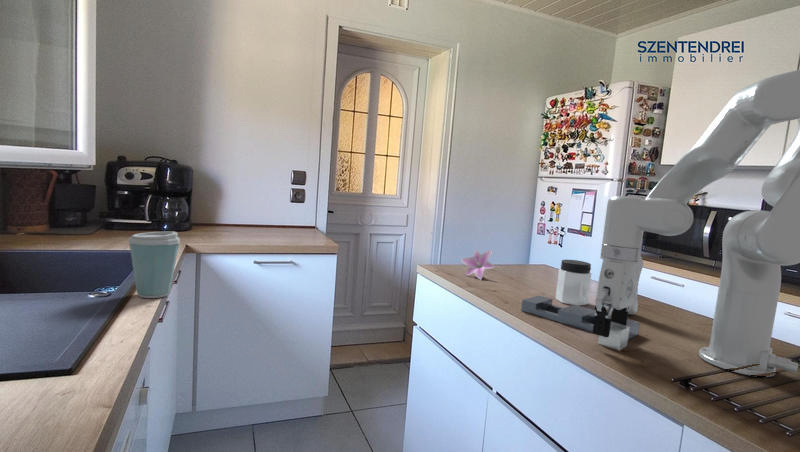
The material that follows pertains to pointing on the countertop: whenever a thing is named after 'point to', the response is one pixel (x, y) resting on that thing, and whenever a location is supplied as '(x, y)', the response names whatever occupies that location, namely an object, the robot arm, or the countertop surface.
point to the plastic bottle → (635, 305)
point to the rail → (568, 314)
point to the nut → (616, 336)
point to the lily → (478, 263)
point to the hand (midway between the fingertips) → (609, 331)
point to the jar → (573, 282)
